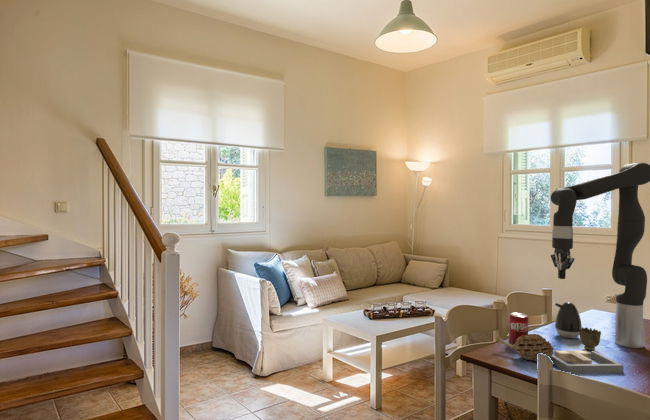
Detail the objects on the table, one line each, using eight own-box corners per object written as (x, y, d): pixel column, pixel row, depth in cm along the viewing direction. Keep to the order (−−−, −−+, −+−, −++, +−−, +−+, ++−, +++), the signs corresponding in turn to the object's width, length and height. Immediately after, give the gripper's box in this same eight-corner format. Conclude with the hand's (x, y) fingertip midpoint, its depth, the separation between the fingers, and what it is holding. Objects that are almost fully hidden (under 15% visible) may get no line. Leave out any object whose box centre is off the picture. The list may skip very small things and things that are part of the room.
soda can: (530, 347, 173) (530, 317, 172) (510, 345, 174) (511, 316, 174) (525, 341, 180) (525, 313, 180) (506, 340, 181) (507, 312, 181)
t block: (585, 358, 161) (585, 350, 161) (604, 368, 151) (604, 360, 151) (554, 358, 160) (554, 350, 160) (571, 368, 150) (571, 360, 150)
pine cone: (557, 362, 156) (558, 335, 156) (548, 369, 149) (549, 340, 149) (497, 347, 172) (498, 322, 172) (487, 353, 165) (487, 327, 165)
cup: (593, 354, 165) (593, 333, 165) (574, 348, 172) (575, 328, 172) (604, 351, 169) (605, 331, 169) (585, 345, 175) (586, 326, 175)
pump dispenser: (551, 332, 194) (552, 298, 194) (577, 334, 191) (578, 300, 191) (557, 339, 184) (558, 303, 184) (584, 341, 181) (585, 305, 181)
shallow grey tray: (594, 357, 162) (594, 351, 162) (623, 372, 147) (623, 365, 147) (543, 357, 161) (543, 351, 160) (567, 373, 146) (567, 365, 146)
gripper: (581, 238, 171) (580, 281, 171) (561, 235, 184) (560, 276, 184) (563, 238, 171) (562, 281, 171) (544, 235, 184) (543, 276, 184)
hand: (561, 278), depth 178 cm, fingers closed
